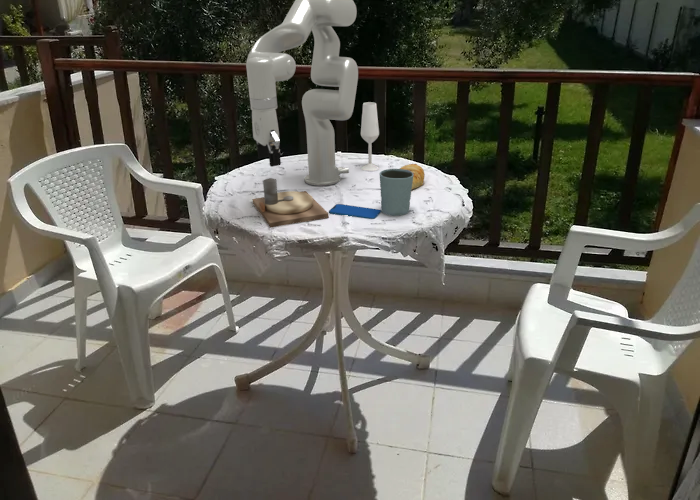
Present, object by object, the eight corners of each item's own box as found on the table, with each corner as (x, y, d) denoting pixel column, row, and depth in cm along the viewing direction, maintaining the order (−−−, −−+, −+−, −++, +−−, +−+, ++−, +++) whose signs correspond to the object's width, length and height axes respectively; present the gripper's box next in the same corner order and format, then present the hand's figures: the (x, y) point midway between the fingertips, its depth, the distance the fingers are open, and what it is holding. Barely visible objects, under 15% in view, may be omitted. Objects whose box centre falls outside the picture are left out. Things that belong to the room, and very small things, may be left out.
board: (306, 195, 196) (305, 185, 195) (328, 217, 178) (328, 207, 176) (252, 203, 190) (251, 193, 189) (270, 227, 172) (269, 216, 170)
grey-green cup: (373, 208, 184) (373, 171, 179) (400, 202, 188) (401, 166, 183) (391, 219, 176) (391, 180, 171) (419, 212, 180) (420, 174, 175)
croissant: (410, 204, 197) (422, 185, 192) (385, 188, 197) (396, 169, 193) (423, 182, 215) (434, 164, 210) (399, 168, 215) (410, 150, 211)
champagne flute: (360, 166, 224) (359, 102, 214) (377, 165, 225) (377, 101, 215) (362, 171, 218) (361, 105, 208) (380, 170, 219) (380, 105, 209)
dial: (303, 193, 192) (301, 167, 188) (320, 208, 180) (319, 180, 176) (258, 201, 187) (256, 174, 183) (273, 217, 174) (271, 188, 170)
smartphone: (374, 218, 176) (327, 211, 181) (374, 221, 176) (327, 214, 181) (382, 209, 182) (336, 203, 187) (382, 212, 182) (336, 206, 187)
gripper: (241, 99, 173) (247, 155, 180) (261, 111, 159) (267, 171, 167) (265, 96, 176) (270, 151, 183) (287, 107, 162) (292, 166, 170)
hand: (269, 161), depth 175 cm, fingers open, 9 cm apart
